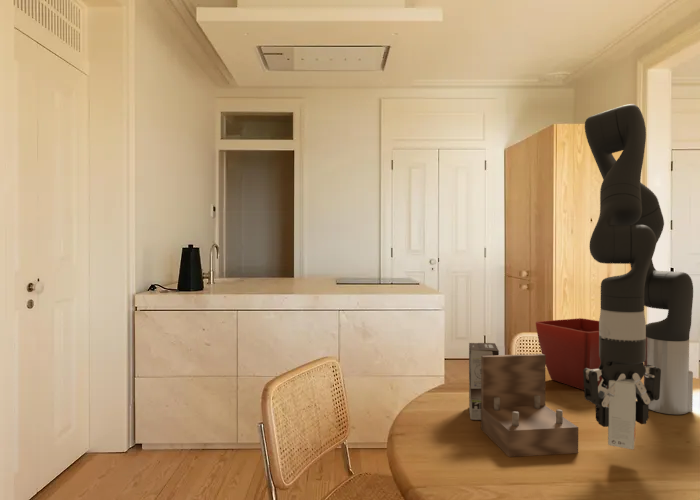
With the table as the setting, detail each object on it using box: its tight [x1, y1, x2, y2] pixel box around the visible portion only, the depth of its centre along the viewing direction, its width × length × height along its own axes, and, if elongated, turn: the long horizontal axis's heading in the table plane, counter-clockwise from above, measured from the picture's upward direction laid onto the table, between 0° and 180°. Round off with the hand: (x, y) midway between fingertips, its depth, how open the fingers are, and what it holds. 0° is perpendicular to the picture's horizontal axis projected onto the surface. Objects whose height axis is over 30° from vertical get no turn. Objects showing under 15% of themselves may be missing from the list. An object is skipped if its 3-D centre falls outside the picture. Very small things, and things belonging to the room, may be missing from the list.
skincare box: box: [607, 379, 637, 450], centre depth 93 cm, size 6×4×12 cm
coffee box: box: [468, 342, 500, 421], centre depth 119 cm, size 9×6×16 cm
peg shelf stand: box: [480, 353, 579, 458], centre depth 104 cm, size 14×14×16 cm
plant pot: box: [535, 317, 609, 391], centre depth 144 cm, size 19×19×17 cm
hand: (621, 423), depth 93 cm, fingers closed on skincare box, 7 cm apart
